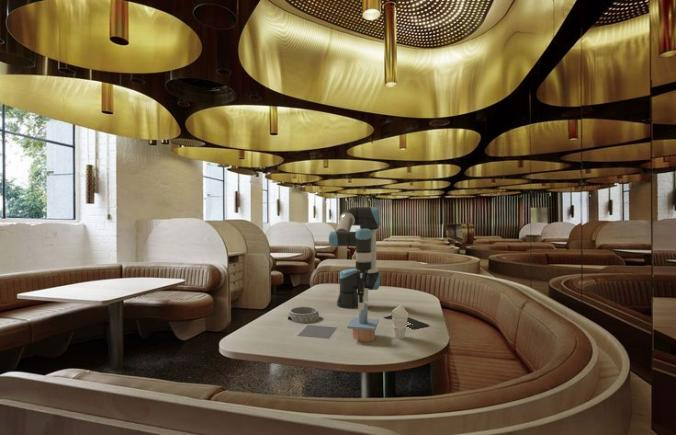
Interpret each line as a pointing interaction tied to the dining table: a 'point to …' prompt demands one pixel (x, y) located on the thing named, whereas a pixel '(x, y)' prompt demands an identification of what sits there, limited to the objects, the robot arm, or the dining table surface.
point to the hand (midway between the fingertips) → (363, 305)
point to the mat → (317, 331)
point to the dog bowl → (304, 314)
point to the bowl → (363, 335)
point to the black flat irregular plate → (415, 323)
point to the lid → (363, 321)
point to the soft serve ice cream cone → (399, 321)
